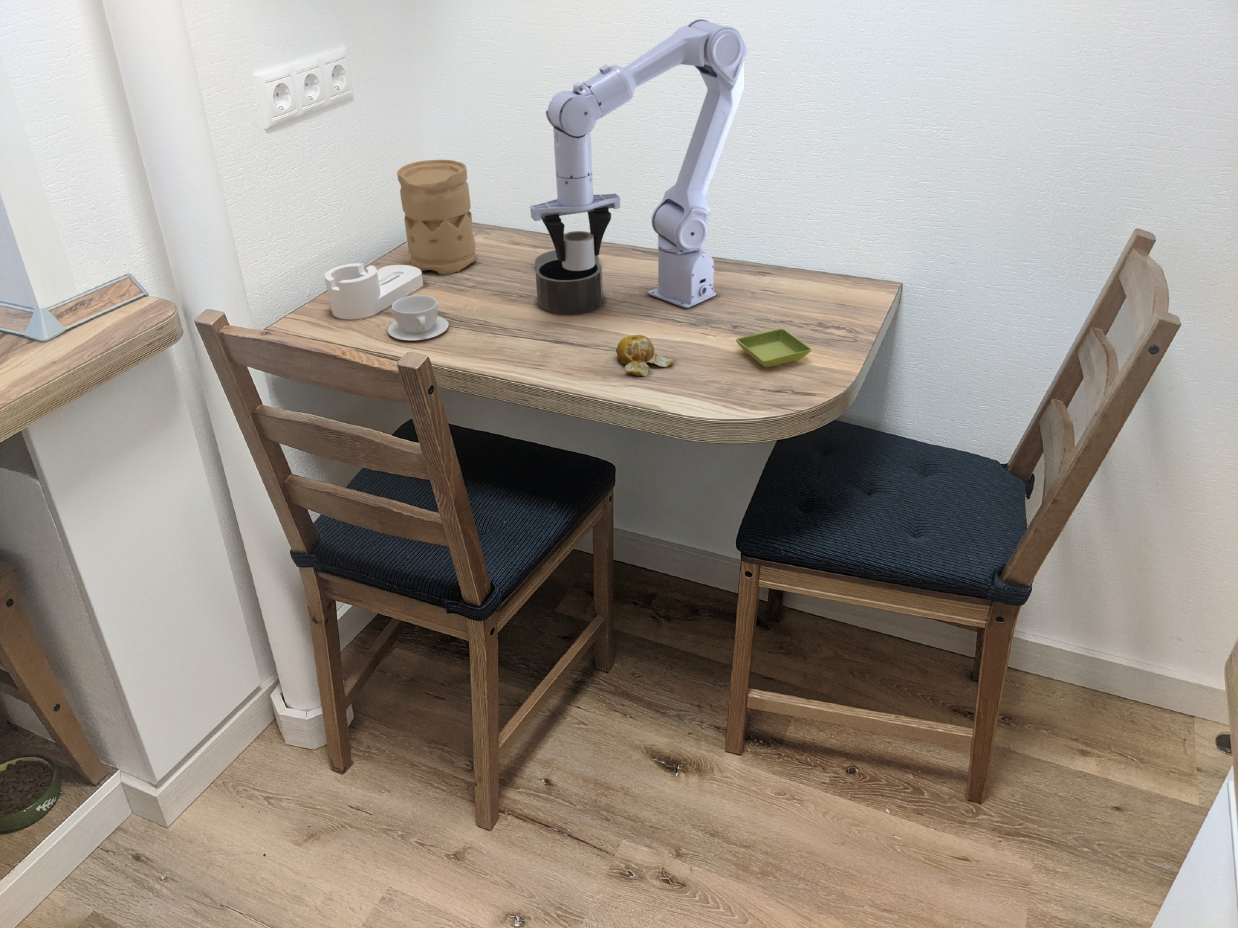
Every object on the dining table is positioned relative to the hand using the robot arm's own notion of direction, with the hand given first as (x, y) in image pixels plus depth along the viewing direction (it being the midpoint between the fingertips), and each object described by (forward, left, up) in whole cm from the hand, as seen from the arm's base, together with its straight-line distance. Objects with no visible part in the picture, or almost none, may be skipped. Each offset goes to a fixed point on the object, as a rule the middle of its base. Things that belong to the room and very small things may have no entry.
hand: (578, 256), depth 157 cm
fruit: (-20, +7, -11) cm, 24 cm away
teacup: (+16, +23, -11) cm, 29 cm away
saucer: (-33, -9, -11) cm, 36 cm away
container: (+38, +2, -11) cm, 39 cm away
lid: (+19, -13, -10) cm, 25 cm away
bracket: (+33, +20, -11) cm, 39 cm away
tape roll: (0, 0, -1) cm, 1 cm away
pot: (+6, -2, -10) cm, 12 cm away
